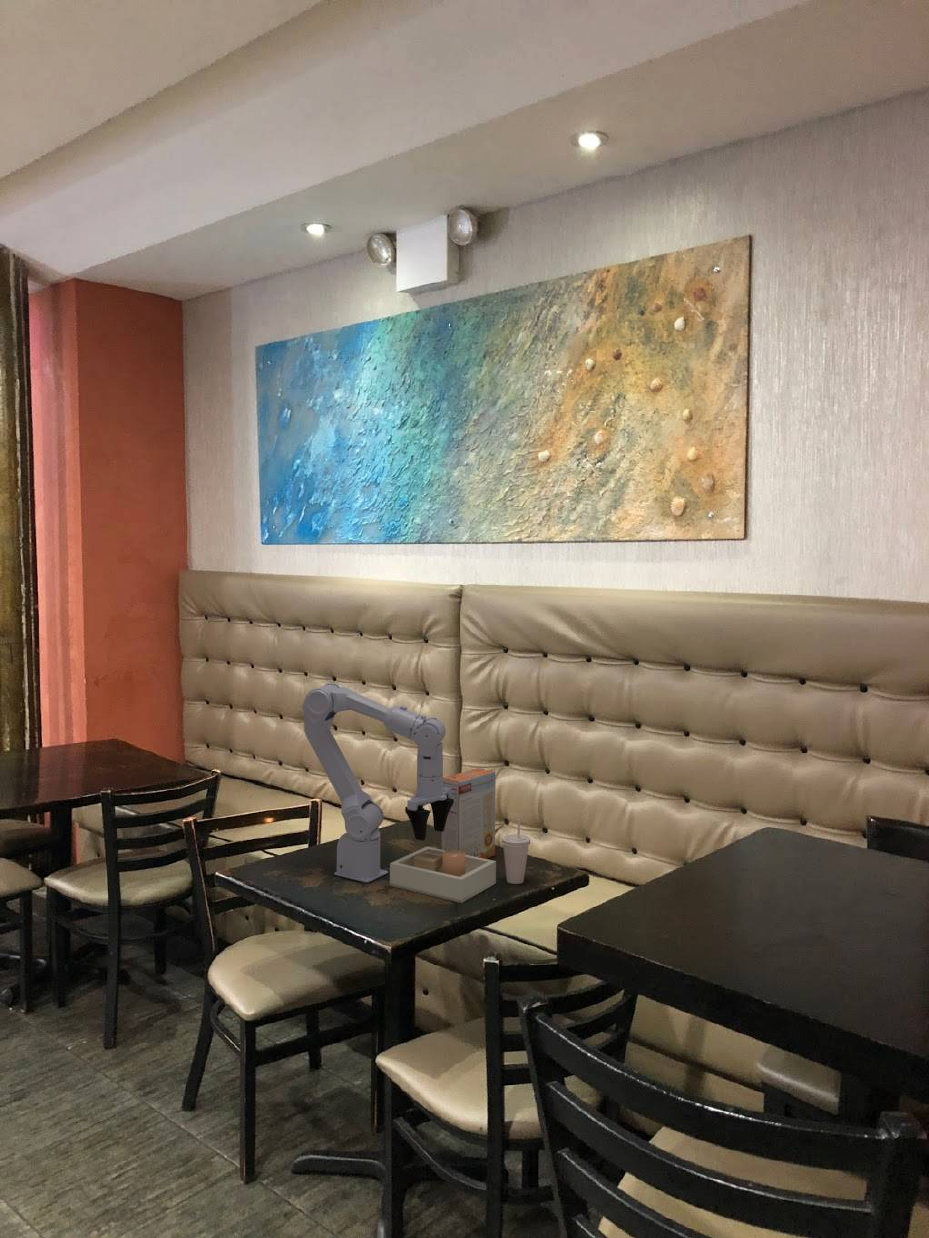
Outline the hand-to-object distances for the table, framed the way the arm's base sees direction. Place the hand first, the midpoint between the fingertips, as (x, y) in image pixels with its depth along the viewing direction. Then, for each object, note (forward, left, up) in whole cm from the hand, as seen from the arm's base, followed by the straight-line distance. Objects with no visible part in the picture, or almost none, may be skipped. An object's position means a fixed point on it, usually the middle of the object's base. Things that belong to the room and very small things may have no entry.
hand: (429, 835), depth 211 cm
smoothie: (+16, +11, -11) cm, 22 cm away
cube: (0, 0, -10) cm, 10 cm away
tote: (+4, 0, -10) cm, 11 cm away
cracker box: (0, +17, -11) cm, 20 cm away
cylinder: (+7, 0, -10) cm, 12 cm away
